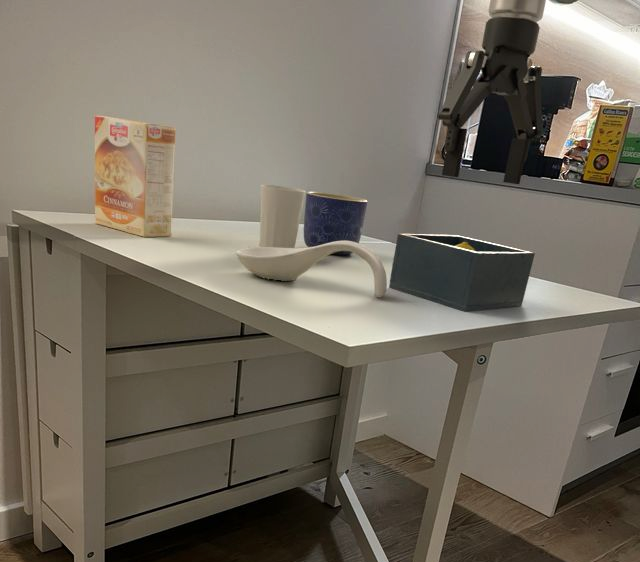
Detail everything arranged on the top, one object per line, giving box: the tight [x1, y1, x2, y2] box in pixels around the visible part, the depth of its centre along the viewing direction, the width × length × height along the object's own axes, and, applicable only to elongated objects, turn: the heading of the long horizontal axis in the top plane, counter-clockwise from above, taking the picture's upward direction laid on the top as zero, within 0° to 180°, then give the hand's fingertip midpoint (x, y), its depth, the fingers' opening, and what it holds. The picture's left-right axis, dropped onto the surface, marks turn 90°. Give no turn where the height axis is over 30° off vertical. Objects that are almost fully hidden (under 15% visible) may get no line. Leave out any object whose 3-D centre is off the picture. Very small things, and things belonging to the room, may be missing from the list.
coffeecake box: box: [94, 115, 177, 238], centre depth 125 cm, size 15×7×20 cm, turn 53°
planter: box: [303, 191, 368, 256], centre depth 135 cm, size 12×12×11 cm
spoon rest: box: [235, 241, 388, 298], centre depth 101 cm, size 24×12×7 cm, turn 75°
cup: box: [259, 184, 306, 248], centre depth 120 cm, size 8×8×12 cm
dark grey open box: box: [388, 233, 535, 312], centre depth 107 cm, size 16×16×9 cm
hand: (481, 180), depth 102 cm, fingers open, 13 cm apart
